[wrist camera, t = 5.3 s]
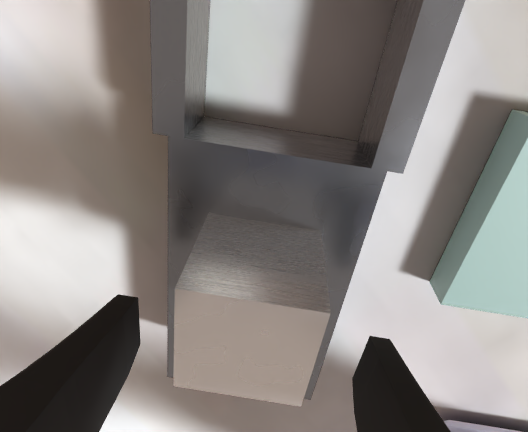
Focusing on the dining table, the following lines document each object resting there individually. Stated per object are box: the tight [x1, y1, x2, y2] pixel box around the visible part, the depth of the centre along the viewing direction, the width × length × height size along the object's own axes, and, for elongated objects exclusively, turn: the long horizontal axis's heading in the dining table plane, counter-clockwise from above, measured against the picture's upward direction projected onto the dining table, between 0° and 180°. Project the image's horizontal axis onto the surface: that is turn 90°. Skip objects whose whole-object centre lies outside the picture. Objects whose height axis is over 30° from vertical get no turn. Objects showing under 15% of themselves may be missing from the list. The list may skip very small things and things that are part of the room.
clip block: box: [173, 213, 331, 407], centre depth 12 cm, size 4×4×4 cm
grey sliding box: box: [150, 0, 465, 400], centre depth 13 cm, size 20×8×3 cm, turn 172°
